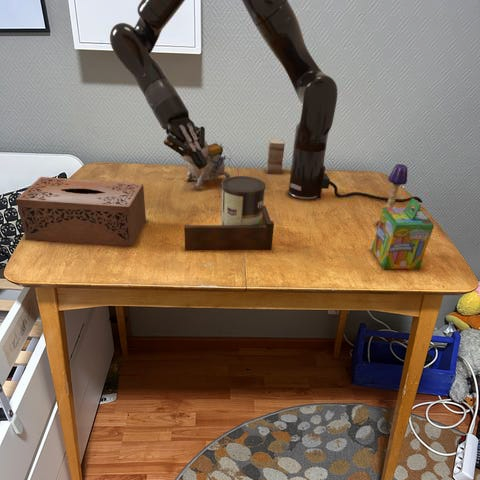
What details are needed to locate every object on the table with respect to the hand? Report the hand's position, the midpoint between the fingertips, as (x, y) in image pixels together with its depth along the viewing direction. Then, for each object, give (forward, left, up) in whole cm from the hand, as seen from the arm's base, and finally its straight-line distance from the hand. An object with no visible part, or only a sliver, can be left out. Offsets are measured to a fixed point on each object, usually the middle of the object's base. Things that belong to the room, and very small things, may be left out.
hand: (203, 166), depth 115 cm
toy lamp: (-49, +3, -15) cm, 51 cm away
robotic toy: (-1, -27, -15) cm, 31 cm away
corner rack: (-5, +10, -15) cm, 18 cm away
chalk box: (-45, +21, -15) cm, 52 cm away
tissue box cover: (+29, +5, -15) cm, 33 cm away
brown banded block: (-25, -39, -15) cm, 49 cm away
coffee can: (-9, +10, -15) cm, 20 cm away
